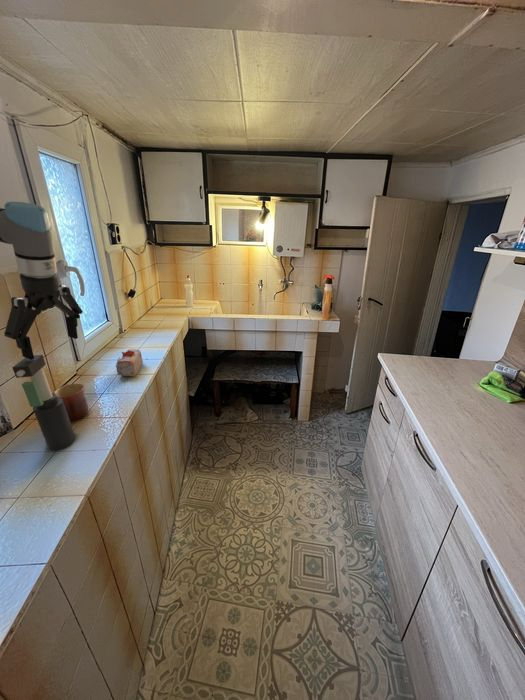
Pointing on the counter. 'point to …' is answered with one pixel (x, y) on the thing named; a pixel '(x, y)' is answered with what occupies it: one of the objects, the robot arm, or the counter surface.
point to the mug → (73, 400)
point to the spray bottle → (47, 405)
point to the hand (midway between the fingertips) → (52, 346)
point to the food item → (129, 363)
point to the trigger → (32, 393)
